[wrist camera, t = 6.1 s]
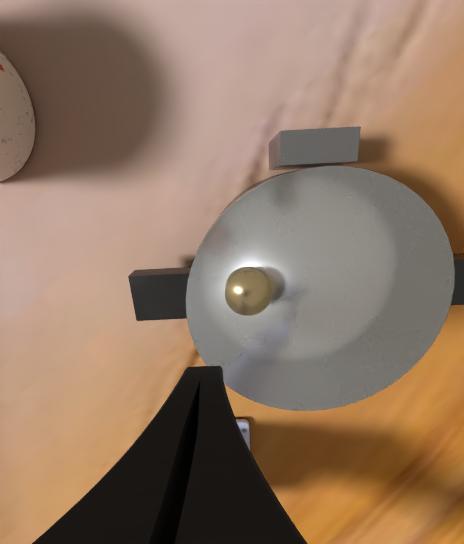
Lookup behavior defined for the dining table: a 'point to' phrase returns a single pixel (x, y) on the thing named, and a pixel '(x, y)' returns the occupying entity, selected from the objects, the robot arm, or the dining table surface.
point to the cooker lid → (320, 287)
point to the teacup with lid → (14, 121)
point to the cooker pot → (282, 155)
